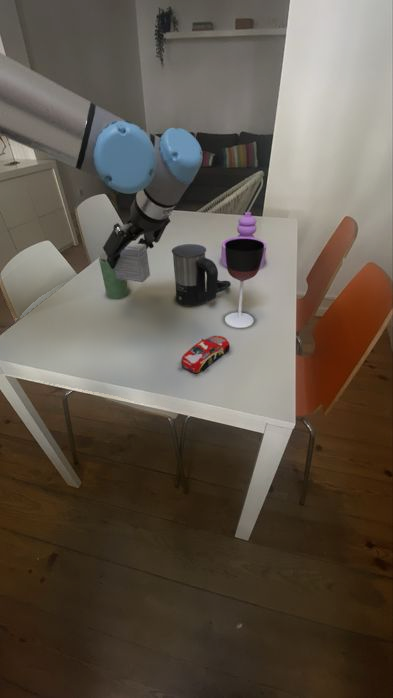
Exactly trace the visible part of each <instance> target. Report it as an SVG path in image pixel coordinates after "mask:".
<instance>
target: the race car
mask: <svg viewBox="0 0 393 698" xmlns="http://www.w3.org/2000/svg"><path fill="white" fill-rule="evenodd" d="M230 347H231V346H230V342H229V340H228V339H227V337H224V336H221V335H212V336H209V337H207V338H205V339H204V338H201V340H200V341H198V342H197V343H196V344H194V345H193V346H192V347H191V348H190V349H188V351H186V352H185V353H184V354H183V355H182V356H181V360H180V365H181V367H182V368H184V369H185V370H187V371H189V372H190V373H195V374H196V373H200V372H202V371H205V370H206V369H207V367H209V366H210V365H211V364H213V363H214V362H215V361H217V360H218V359H219V358H221V357H222V356H223V355H224V354H227V353H228V352H229V350H230Z"/></svg>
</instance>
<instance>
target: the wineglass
mask: <svg viewBox="0 0 393 698" xmlns="http://www.w3.org/2000/svg"><path fill="white" fill-rule="evenodd" d="M263 251H264V244H263V243H262V242H260V241H258V240H253V239H235V240H231V241H228V242H227V243H226V244H225V254H226V264H227V267H226V269H227V273H228V274H229V276H231V278H233V279H235V280H237V281H239V283H240V284H239V295H238V297H239V298H238V310H237V311H238V312H237V311H235V312H231V313H228V314H227V315H225V316H224V321H225V323H226V324H227V325H228V326H230V327H231V328H237V329H242V328H248V327H250V326H252V325H253V324H254V318H253V317H252V316H251V315H250V314H248V313H246V312H242V308H243V307H242V306H243V293H244V292H243V291H244V282H245V281H247V280H250V279H252V278H254V277H255V276H256V275H257V274H258V272H259V270H260V268H259V267H260V264H261V261H262V257H263Z"/></svg>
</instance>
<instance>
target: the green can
mask: <svg viewBox="0 0 393 698" xmlns="http://www.w3.org/2000/svg"><path fill="white" fill-rule="evenodd" d="M107 258H108V257H107V255H106V253H105V252H102V253H101V254H100V255H99V257H98V262H99V266H100V270H101V271H100V272H101V276H102V280H103V284H104V290H105V294H106V296H107V298H109V299H113V300H116V299H117V300H118V299H122V298H125V297H127V296H128V295H129V294H130V292H129V284H128V280H122V279H117V277H116V272H115V268H113V269H111V267H110V265H109V263H108V262H107Z"/></svg>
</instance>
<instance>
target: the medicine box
mask: <svg viewBox="0 0 393 698" xmlns="http://www.w3.org/2000/svg"><path fill="white" fill-rule="evenodd" d="M115 272H116V277H117V279H122V280H127V281H131V282H139V283H144V282H145V281H146V280H147V279H148V278H149V277H150V276H151V270H150V264H149V258H148V248H147V249H146V245H145V244H138V242H131V243H130V244H129V245H128V246H127V247H126V248H125V249H124V250H123V251H122V252H121V253H120V258H119V260H118V262H117V264H116V266H115Z"/></svg>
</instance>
